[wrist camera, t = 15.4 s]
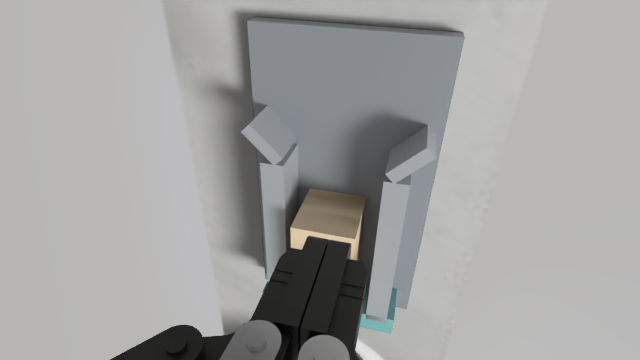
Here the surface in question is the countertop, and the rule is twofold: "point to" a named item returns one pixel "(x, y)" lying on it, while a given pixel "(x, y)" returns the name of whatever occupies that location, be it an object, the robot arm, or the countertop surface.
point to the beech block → (330, 219)
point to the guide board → (351, 136)
